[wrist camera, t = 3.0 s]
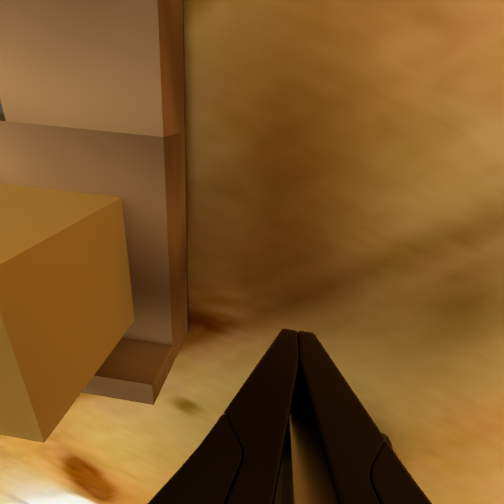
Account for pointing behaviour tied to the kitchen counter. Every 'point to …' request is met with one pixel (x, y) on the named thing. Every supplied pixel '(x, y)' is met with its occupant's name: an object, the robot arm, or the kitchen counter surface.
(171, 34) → the tray
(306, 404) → the robot arm
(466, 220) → the kitchen counter surface
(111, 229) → the mustard block
